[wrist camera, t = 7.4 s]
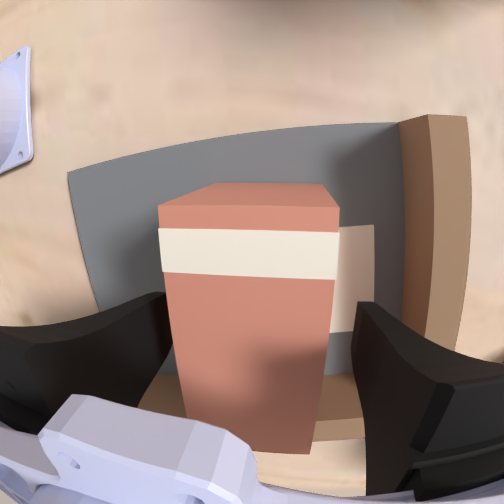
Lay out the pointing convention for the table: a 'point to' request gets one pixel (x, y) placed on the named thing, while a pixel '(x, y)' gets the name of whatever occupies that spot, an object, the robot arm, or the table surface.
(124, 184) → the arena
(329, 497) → the robot arm
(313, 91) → the table surface
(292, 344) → the block
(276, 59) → the table surface
